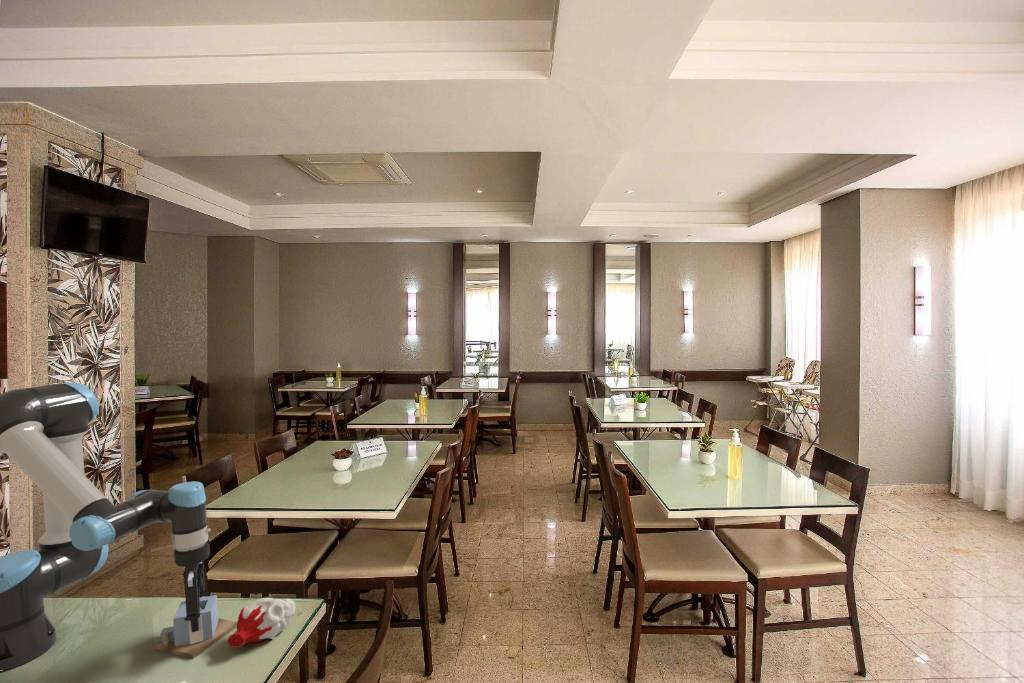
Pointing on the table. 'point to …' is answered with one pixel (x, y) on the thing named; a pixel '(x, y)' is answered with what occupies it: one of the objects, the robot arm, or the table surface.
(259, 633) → the candle
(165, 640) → the dowel
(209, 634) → the square nut with handle
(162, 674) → the table surface
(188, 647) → the post base
